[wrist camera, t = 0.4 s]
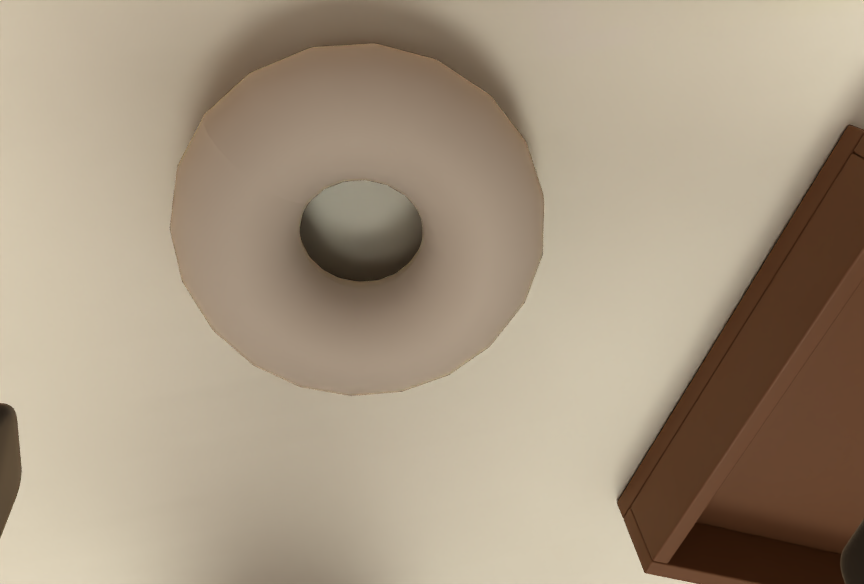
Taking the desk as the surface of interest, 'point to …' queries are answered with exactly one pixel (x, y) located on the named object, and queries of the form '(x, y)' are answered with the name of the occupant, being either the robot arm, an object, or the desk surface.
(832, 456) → the tray
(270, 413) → the desk surface
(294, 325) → the donut
